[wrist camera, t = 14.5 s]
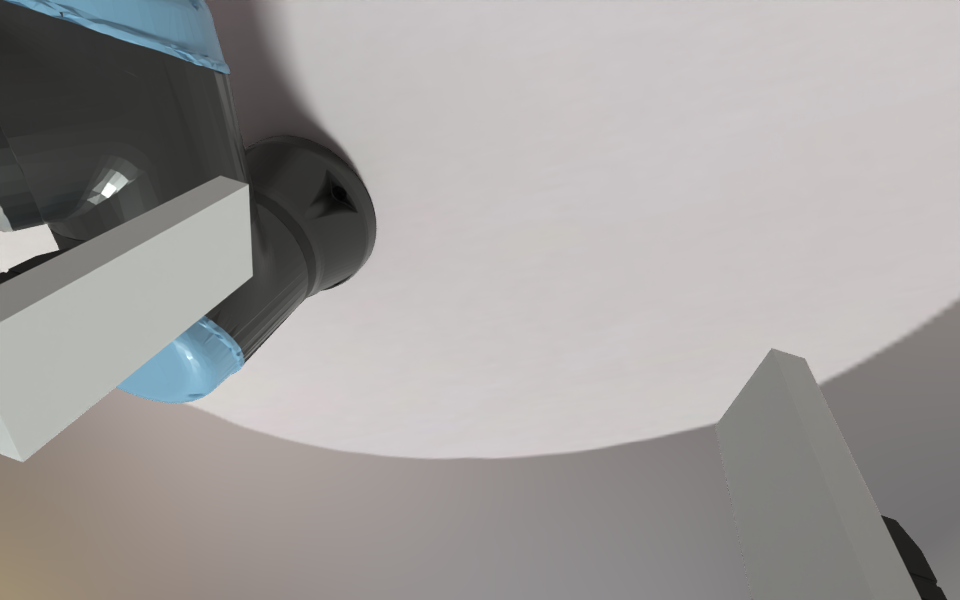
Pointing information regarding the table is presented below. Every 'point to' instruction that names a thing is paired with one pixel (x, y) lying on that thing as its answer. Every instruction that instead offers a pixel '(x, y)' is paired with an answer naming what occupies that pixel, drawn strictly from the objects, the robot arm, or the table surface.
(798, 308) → the table surface
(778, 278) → the table surface
